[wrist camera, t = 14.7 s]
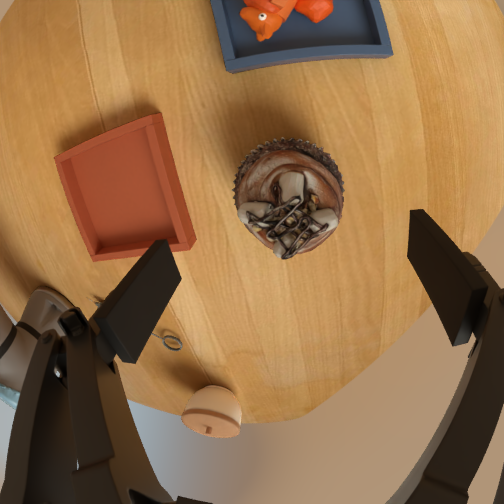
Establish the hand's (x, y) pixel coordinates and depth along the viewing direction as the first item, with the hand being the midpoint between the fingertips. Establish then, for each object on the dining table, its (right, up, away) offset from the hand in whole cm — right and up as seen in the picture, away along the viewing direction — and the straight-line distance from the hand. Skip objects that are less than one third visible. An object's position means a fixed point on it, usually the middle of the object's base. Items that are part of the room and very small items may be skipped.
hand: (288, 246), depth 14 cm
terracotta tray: (-17, +7, +16) cm, 24 cm away
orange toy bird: (+2, +23, +3) cm, 23 cm away
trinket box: (-8, -27, +35) cm, 45 cm away
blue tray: (+2, +24, +3) cm, 24 cm away
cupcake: (+2, +7, +13) cm, 15 cm away
